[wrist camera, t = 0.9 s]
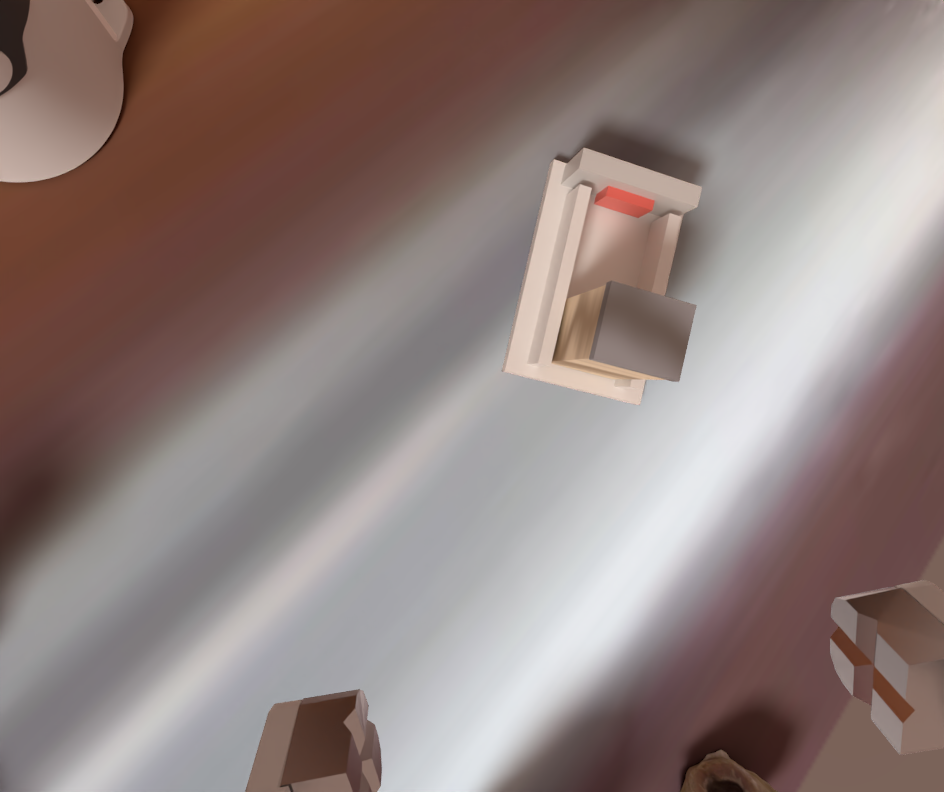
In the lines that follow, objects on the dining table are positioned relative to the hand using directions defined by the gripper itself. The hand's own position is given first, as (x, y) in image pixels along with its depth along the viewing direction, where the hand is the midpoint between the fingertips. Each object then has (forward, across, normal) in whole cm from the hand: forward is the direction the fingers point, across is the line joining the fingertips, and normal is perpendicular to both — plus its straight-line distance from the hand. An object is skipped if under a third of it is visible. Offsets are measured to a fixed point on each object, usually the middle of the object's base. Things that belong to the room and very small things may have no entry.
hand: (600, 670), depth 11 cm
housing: (+43, -10, +3) cm, 44 cm away
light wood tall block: (+40, -9, +7) cm, 42 cm away
